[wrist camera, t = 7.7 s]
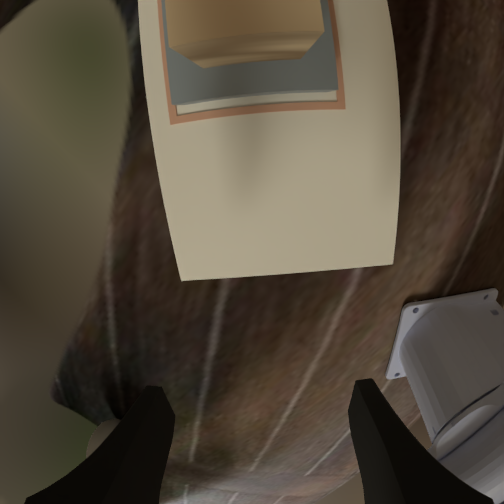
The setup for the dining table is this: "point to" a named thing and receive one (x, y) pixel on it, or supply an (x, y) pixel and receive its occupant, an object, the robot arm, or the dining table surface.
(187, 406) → the dining table surface
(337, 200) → the white flat sheet
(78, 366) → the dining table surface
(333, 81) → the slate slab
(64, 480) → the robot arm
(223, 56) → the maple block
